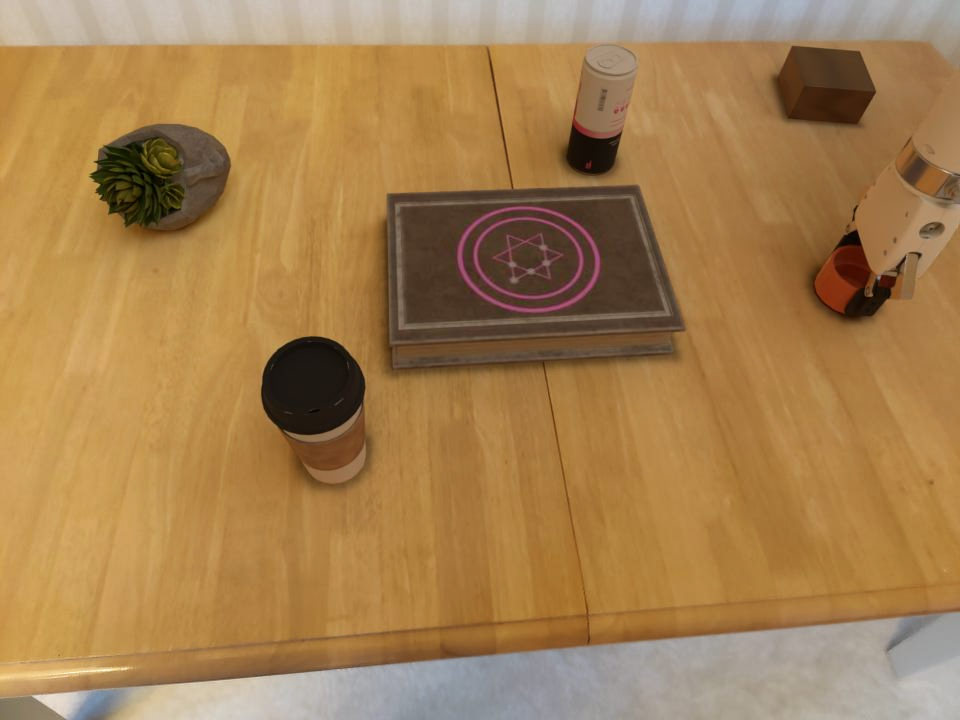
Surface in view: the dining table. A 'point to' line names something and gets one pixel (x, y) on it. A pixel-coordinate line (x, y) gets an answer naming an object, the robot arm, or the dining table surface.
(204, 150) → the potted plant
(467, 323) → the book
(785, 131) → the dining table surface
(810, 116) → the stand
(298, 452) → the coffee cup
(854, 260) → the bowl
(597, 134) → the beverage can
